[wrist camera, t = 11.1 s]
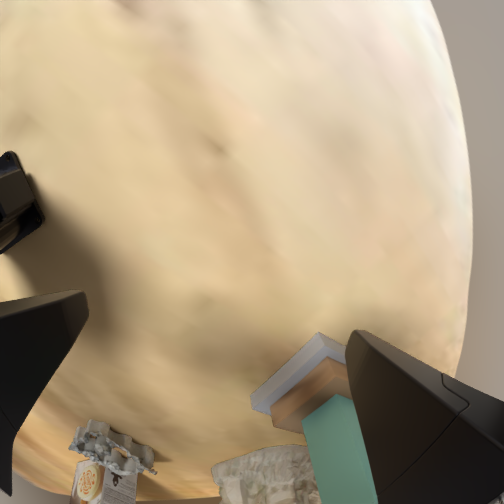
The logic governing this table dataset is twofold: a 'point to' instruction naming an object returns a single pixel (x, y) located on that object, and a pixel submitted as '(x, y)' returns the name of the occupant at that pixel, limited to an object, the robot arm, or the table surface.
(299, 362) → the slate slab
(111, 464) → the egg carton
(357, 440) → the teal block
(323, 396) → the walnut slab
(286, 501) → the grey jagged round piece
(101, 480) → the coffee box
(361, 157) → the table surface
